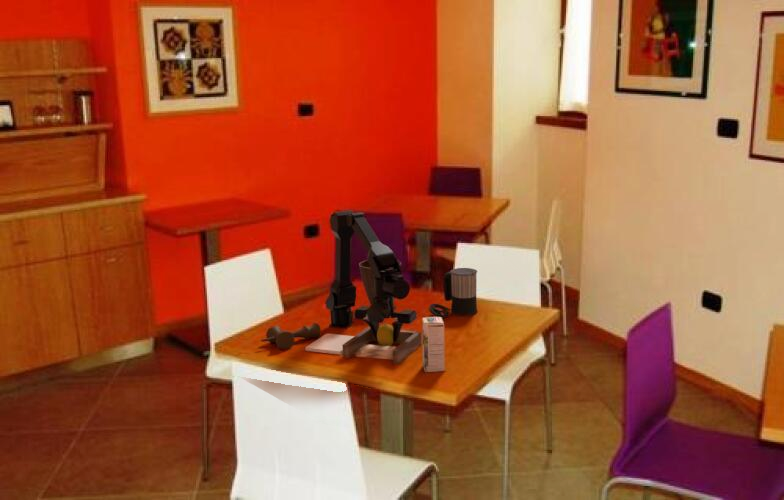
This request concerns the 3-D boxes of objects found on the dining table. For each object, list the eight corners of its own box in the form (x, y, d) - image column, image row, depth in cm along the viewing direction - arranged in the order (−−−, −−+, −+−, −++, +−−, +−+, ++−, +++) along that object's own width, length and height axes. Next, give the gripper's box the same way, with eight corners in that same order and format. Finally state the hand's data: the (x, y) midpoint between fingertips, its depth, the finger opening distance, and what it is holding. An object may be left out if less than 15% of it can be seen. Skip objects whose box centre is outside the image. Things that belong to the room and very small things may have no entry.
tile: (305, 350, 249) (305, 347, 249) (327, 336, 261) (327, 333, 261) (340, 354, 244) (340, 351, 244) (360, 340, 257) (360, 337, 256)
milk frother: (482, 310, 283) (481, 269, 279) (461, 322, 270) (460, 279, 266) (446, 305, 290) (445, 265, 287) (424, 317, 277) (423, 275, 274)
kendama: (325, 342, 258) (267, 354, 247) (312, 335, 266) (255, 346, 256) (325, 324, 257) (266, 335, 246) (311, 317, 265) (254, 328, 254)
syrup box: (422, 365, 232) (420, 317, 229) (442, 364, 233) (441, 315, 230) (424, 372, 227) (423, 323, 224) (445, 371, 227) (444, 322, 224)
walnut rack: (343, 357, 242) (342, 344, 241) (368, 338, 258) (368, 326, 257) (398, 364, 234) (397, 351, 233) (421, 344, 250) (421, 331, 249)
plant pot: (359, 301, 299) (357, 259, 295) (399, 299, 300) (398, 257, 297) (362, 313, 284) (360, 269, 281) (404, 310, 286) (403, 266, 282)
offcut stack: (355, 357, 242) (355, 347, 242) (360, 353, 246) (360, 343, 245) (393, 360, 238) (393, 351, 238) (398, 356, 242) (397, 346, 241)
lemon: (393, 351, 245) (392, 326, 243) (375, 350, 246) (374, 325, 244) (397, 345, 250) (396, 320, 248) (379, 344, 251) (378, 320, 250)
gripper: (344, 296, 241) (347, 346, 244) (402, 301, 233) (404, 353, 237) (360, 287, 251) (363, 335, 254) (416, 291, 243) (418, 341, 247)
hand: (386, 341), depth 248 cm, fingers closed on lemon, 5 cm apart
